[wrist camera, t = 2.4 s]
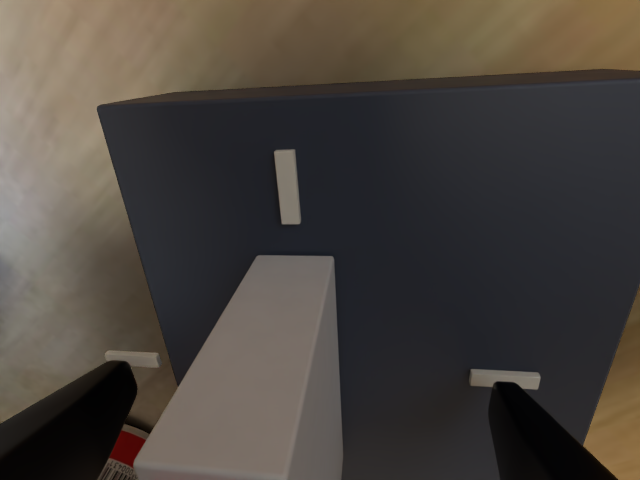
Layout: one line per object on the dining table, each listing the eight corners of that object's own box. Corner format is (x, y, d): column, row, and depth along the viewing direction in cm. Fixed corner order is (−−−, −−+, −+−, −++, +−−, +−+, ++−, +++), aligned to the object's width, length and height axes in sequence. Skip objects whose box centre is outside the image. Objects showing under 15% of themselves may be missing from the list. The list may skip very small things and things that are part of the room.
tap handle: (343, 454, 10) (320, 742, 6) (284, 449, 10) (221, 721, 6) (334, 255, 8) (280, 507, 3) (257, 254, 8) (114, 488, 4)
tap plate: (515, 444, 13) (552, 548, 10) (202, 419, 15) (161, 504, 12) (605, 68, 8) (726, 74, 5) (115, 95, 10) (9, 110, 7)
